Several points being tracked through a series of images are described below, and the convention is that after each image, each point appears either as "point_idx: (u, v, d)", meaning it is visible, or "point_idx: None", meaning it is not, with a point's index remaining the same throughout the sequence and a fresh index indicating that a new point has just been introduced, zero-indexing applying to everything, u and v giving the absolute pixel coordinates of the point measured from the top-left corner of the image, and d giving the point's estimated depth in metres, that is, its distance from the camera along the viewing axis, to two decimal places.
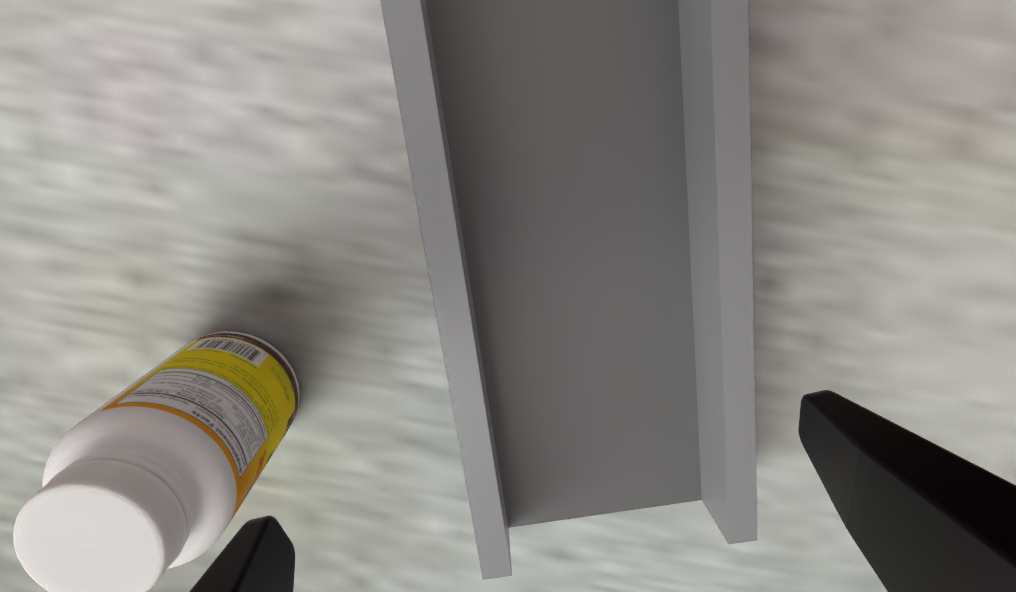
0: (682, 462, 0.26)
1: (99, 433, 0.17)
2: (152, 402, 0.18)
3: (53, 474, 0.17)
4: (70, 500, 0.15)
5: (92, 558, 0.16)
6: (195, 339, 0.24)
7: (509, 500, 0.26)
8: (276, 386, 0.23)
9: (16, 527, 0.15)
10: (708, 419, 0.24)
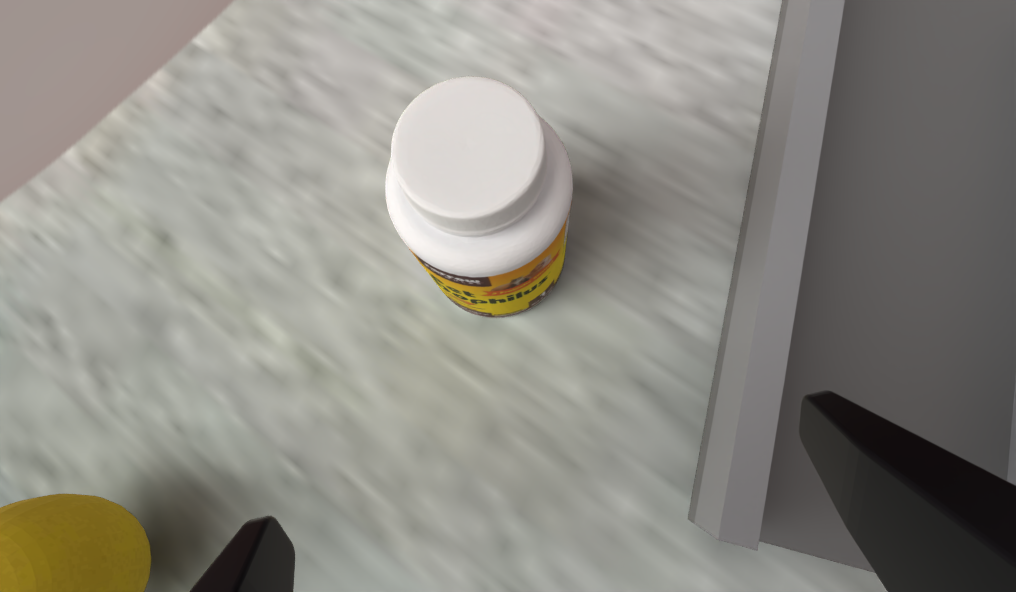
0: None
1: None
2: None
3: None
4: (482, 91, 0.15)
5: (462, 156, 0.15)
6: None
7: None
8: None
9: (417, 98, 0.15)
10: None
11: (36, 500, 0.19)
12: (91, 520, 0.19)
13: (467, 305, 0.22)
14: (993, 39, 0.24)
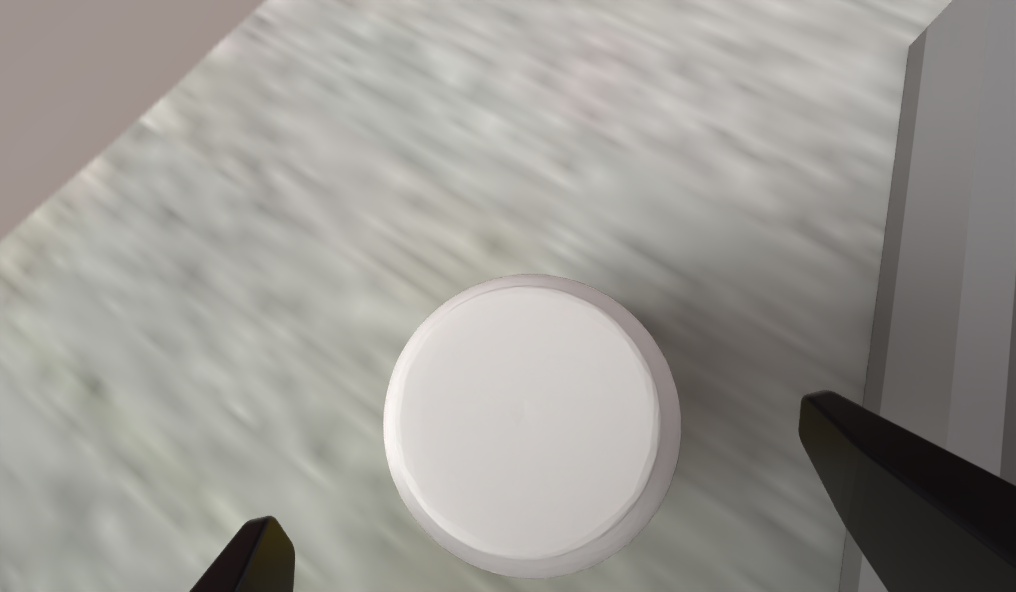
0: None
1: (551, 287, 0.11)
2: None
3: None
4: (551, 316, 0.09)
5: (517, 438, 0.08)
6: None
7: None
8: None
9: (438, 326, 0.09)
10: None
11: None
12: None
13: None
14: None
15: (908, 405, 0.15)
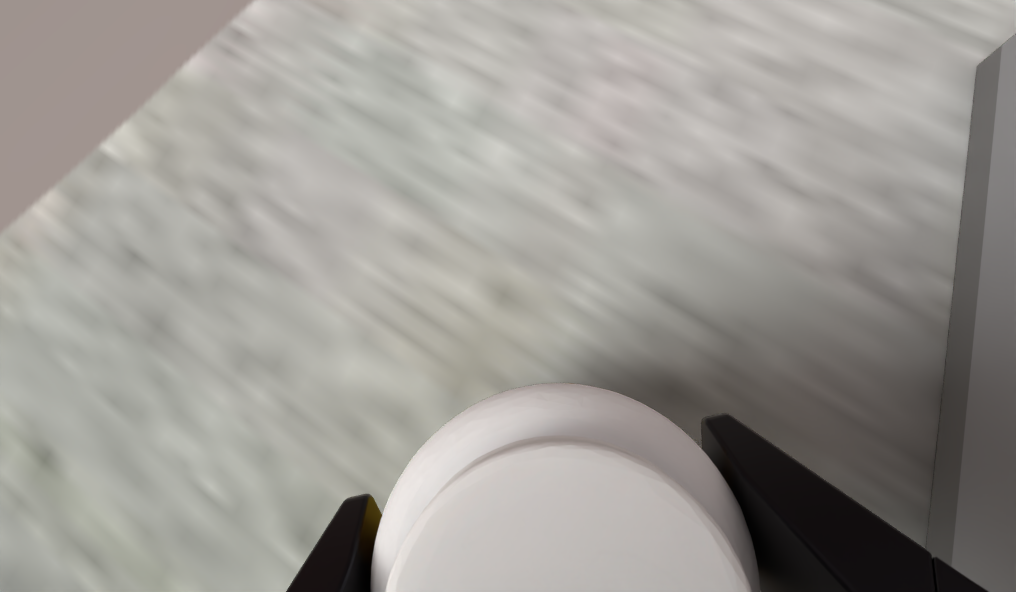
0: None
1: (589, 409, 0.08)
2: None
3: (454, 454, 0.08)
4: (601, 492, 0.06)
5: None
6: None
7: None
8: None
9: (443, 504, 0.06)
10: None
11: None
12: None
13: None
14: None
15: (999, 503, 0.13)
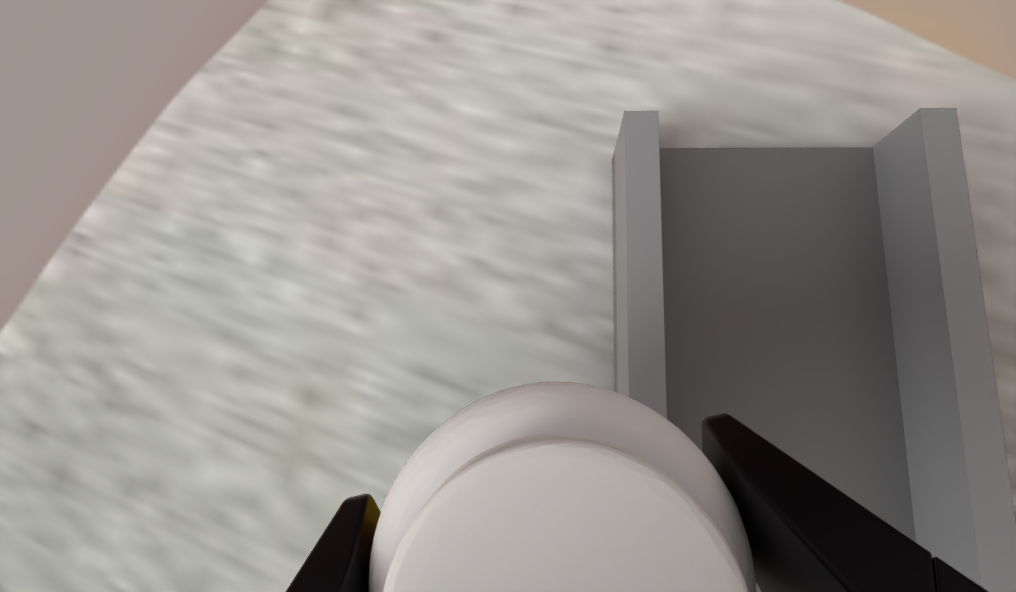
0: None
1: (586, 408, 0.08)
2: None
3: (452, 452, 0.08)
4: (598, 490, 0.06)
5: None
6: None
7: None
8: None
9: (441, 502, 0.06)
10: None
11: None
12: None
13: None
14: (829, 200, 0.23)
15: None
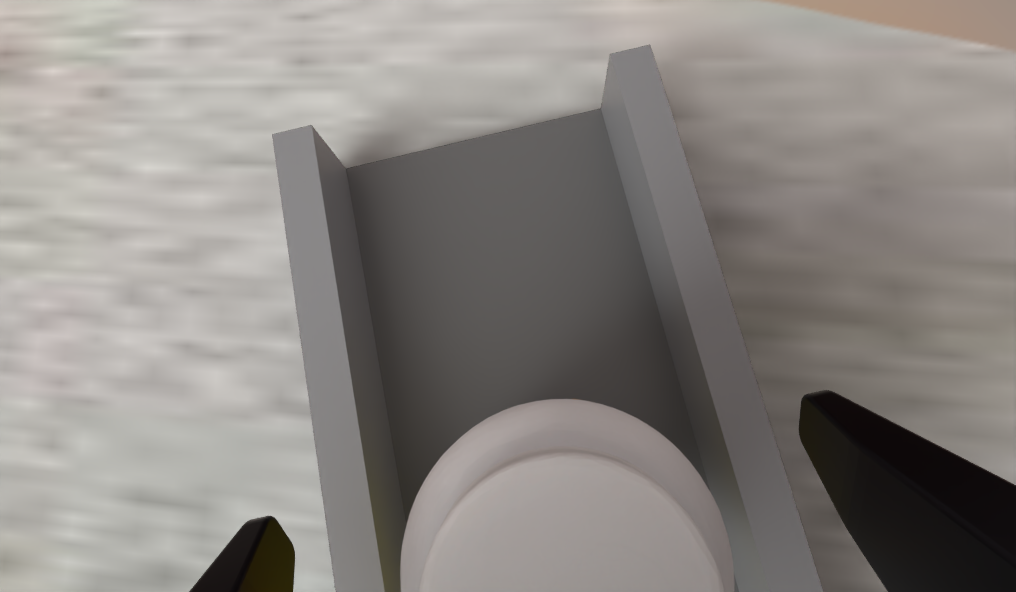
0: None
1: (590, 423, 0.10)
2: None
3: (474, 459, 0.10)
4: (600, 495, 0.08)
5: None
6: None
7: None
8: None
9: (470, 502, 0.08)
10: None
11: None
12: None
13: None
14: (562, 180, 0.19)
15: None
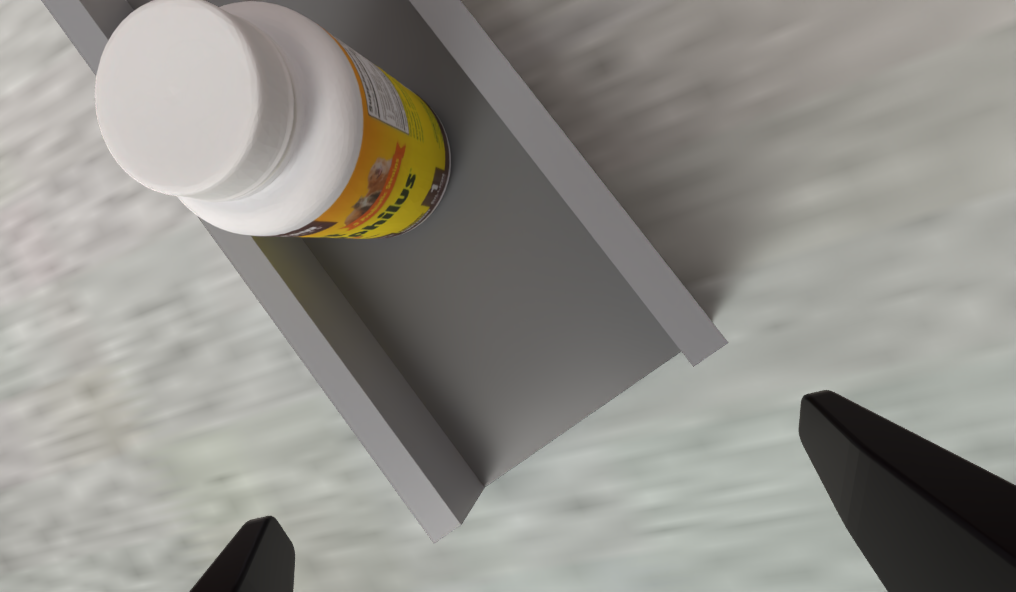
0: (628, 313, 0.20)
1: None
2: None
3: None
4: (158, 20, 0.12)
5: (175, 113, 0.12)
6: None
7: (466, 453, 0.22)
8: (423, 112, 0.18)
9: (98, 67, 0.12)
10: None
11: None
12: None
13: (360, 238, 0.19)
14: None
15: None
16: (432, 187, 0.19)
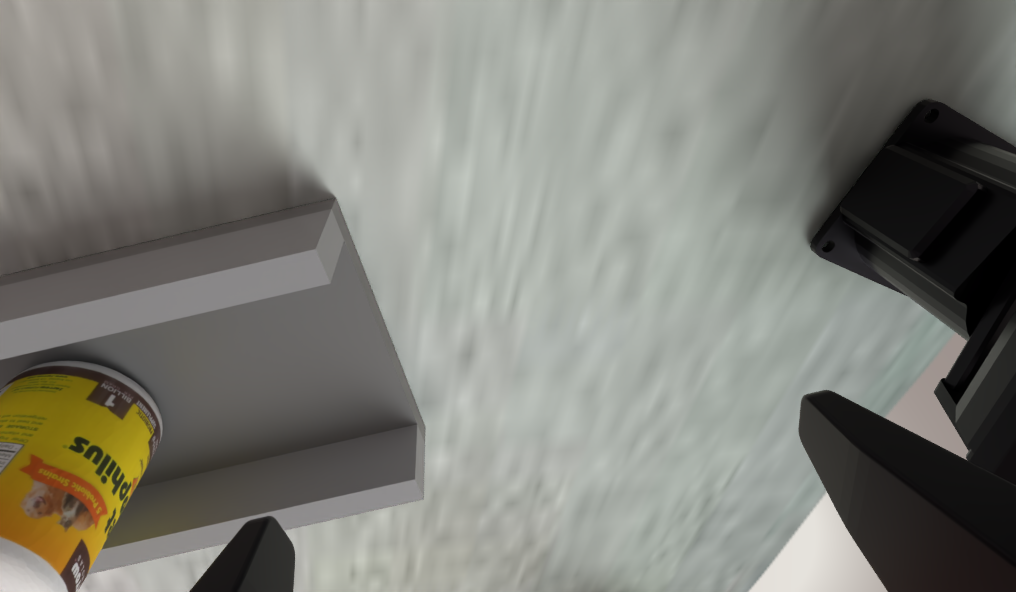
0: None
1: None
2: None
3: None
4: None
5: None
6: None
7: (383, 427, 0.25)
8: (22, 398, 0.19)
9: None
10: None
11: None
12: None
13: (141, 472, 0.21)
14: None
15: None
16: (108, 404, 0.20)
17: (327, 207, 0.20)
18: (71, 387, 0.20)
